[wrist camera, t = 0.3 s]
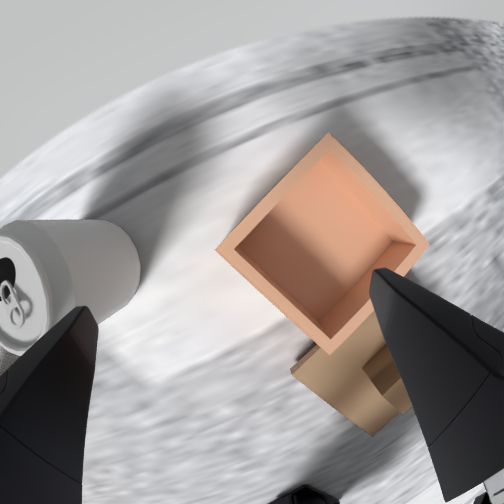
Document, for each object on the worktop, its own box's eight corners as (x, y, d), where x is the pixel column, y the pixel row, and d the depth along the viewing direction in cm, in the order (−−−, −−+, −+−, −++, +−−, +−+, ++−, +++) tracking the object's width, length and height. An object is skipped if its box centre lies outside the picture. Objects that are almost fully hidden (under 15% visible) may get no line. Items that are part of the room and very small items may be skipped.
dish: (401, 240, 23) (429, 244, 18) (316, 332, 23) (329, 355, 19) (314, 148, 22) (328, 132, 18) (222, 244, 23) (214, 249, 18)
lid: (452, 347, 23) (486, 369, 18) (369, 430, 24) (388, 466, 18) (388, 268, 22) (423, 281, 17) (290, 368, 23) (299, 406, 18)
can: (107, 200, 22) (4, 187, 10) (163, 273, 23) (85, 320, 11) (54, 258, 23) (-48, 281, 11) (103, 326, 23) (17, 390, 12)
